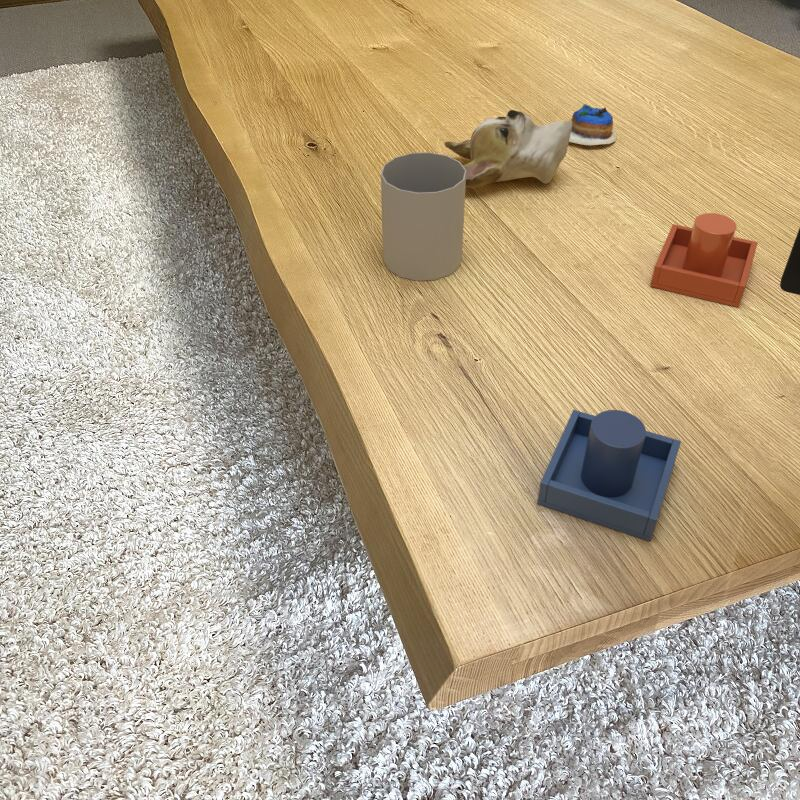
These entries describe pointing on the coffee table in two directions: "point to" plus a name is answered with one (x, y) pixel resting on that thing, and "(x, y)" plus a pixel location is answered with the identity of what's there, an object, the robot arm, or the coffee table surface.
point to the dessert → (592, 126)
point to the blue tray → (618, 513)
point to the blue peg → (612, 453)
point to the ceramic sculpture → (513, 149)
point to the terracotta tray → (701, 285)
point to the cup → (423, 215)
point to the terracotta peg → (709, 244)
